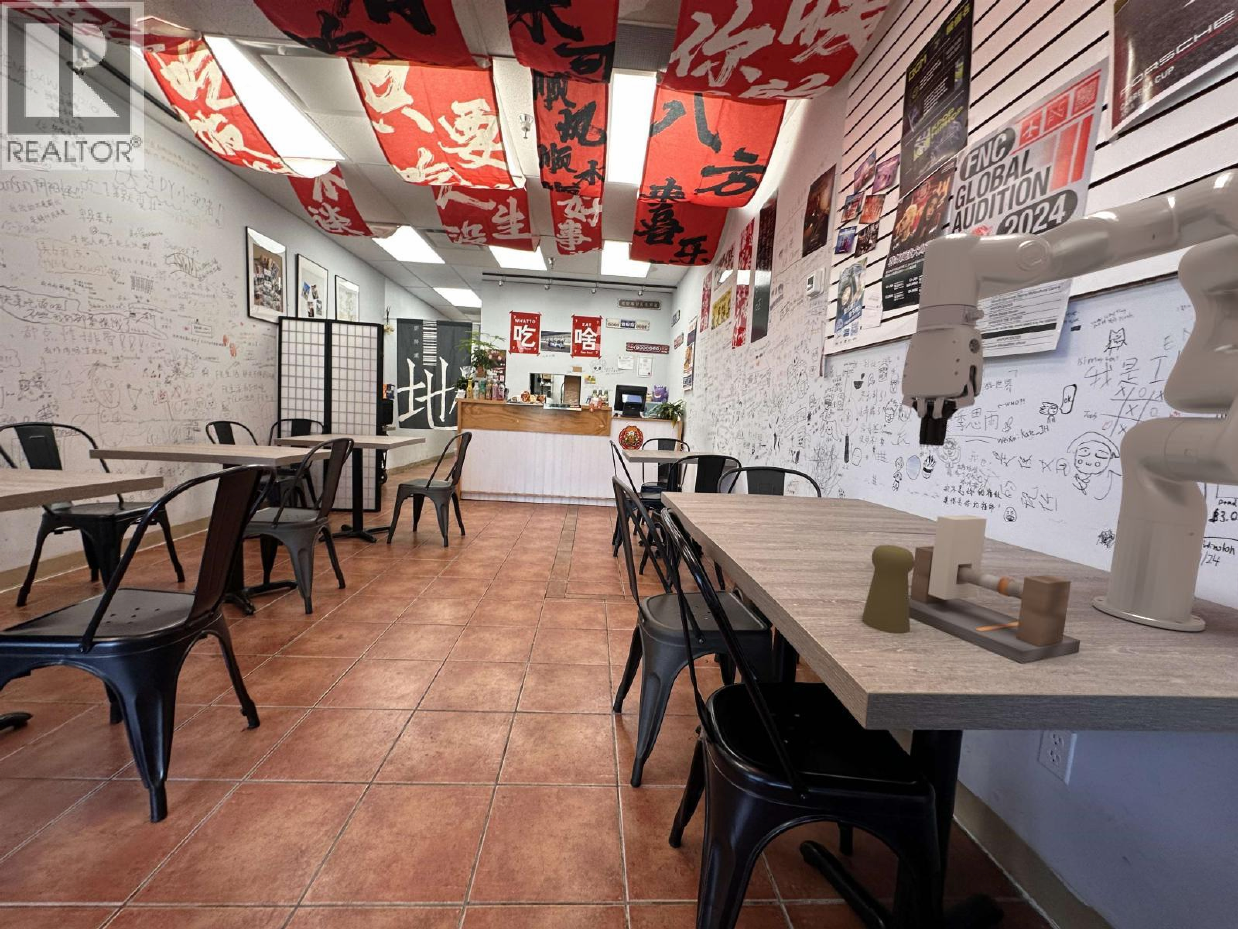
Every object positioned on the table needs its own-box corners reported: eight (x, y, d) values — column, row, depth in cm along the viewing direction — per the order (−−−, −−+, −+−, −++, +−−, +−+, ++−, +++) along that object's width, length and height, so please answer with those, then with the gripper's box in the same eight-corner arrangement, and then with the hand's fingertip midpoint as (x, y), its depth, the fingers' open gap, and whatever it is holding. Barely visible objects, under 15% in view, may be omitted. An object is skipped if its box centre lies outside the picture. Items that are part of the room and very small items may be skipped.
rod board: (944, 603, 84) (951, 544, 83) (1078, 651, 67) (1089, 579, 67) (891, 609, 79) (898, 547, 78) (1021, 663, 63) (1031, 586, 62)
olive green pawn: (914, 636, 69) (924, 554, 68) (864, 628, 71) (872, 548, 70) (905, 620, 75) (914, 545, 74) (859, 613, 77) (867, 539, 76)
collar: (959, 590, 79) (969, 515, 78) (976, 596, 77) (986, 518, 76) (928, 594, 76) (937, 516, 75) (944, 599, 74) (954, 519, 73)
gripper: (1015, 318, 73) (998, 450, 75) (917, 332, 87) (904, 442, 89) (980, 311, 70) (963, 448, 72) (884, 326, 84) (872, 440, 86)
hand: (931, 444), depth 80 cm, fingers closed
